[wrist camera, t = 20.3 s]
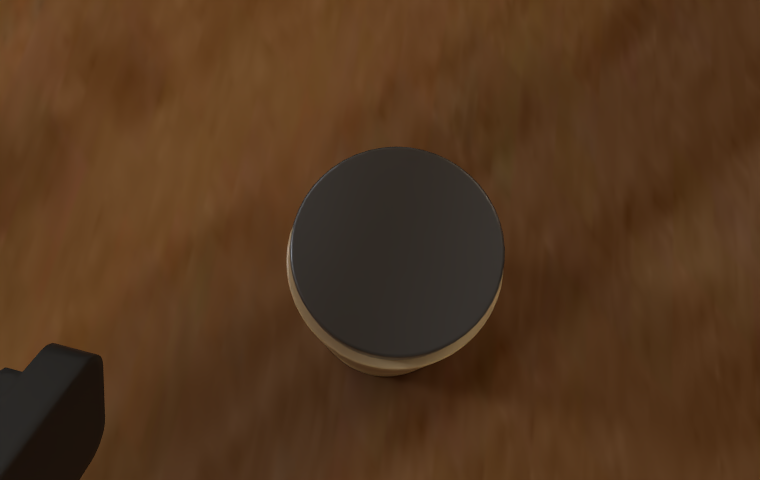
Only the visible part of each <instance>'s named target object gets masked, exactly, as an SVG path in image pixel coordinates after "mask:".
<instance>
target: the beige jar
mask: <svg viewBox="0 0 760 480" xmlns="http://www.w3.org/2000/svg"><path fill="white" fill-rule="evenodd" d="M504 258H505V247H504V238H503V232H502V228H501V224H500V221H499V218H498V216H497V213H496V211H495V208H494V206H493V205H492V203H491V201H490V199H489V197H488V196H487V194H486V193H485V192H484V190H483V189H482V188H481V186H480V185H479V184H478V183H477V182H476V181H475V180H474V179H473V178H472V177H471V176H470V175H469V174H468V173H467V172H465V171H464V170H463V169H462V168H460V167H459V166H457V165H456V164H454V163H453V162H451V161H449V160H448V159H445V158H443V157H441V156H439V155H437V154H434V153H431V152H427V151H424V150H420V149H415V148H409V147H385V148H378V149H373V150H368V151H365V152H362V153H359V154H356V155H354V156H352V157H350V158H348V159H346V160H343V161H342V162H340V163H339V164H337V165H336V166H334V167H333V168H331V169H330V170H329V171H328V172H327V173H325V174H324V175H323V176H322V177H321V178H320V179H319V180H318V181H317V182H316V183H315V184H314V186H313V187H312V188H311V189H310V191H309V192H308V194H307V195H306V197H305V198H304V200H303V202H302V204H301V206H300V208H299V210H298V212H297V215H296V218H295V221H294V224H293V227H292V230H291V233H290V237H289V242H288V246H287V259H286V264H287V277H288V282H289V288H290V291H291V294H292V297H293V300H294V303H295V305H296V307H297V309H298V311H299V313H300V315H301V317H302V318H303V320H304V321H305V323H306V324H307V326H308V327H309V328H310V329H311V331H312V332H313V333H314V334H315V335H316V336H317V337H318V338H319V339H320V340H321V341H322V342H323V343H324V344H325V346H326V347H327V348H328V349H329V350H330V351H331V352H332V353H333V354H334V355H335V356H336V357H338V358H339V359H340V360H341V361H342V362H343V363H345V364H346V365H348V366H350V367H351V368H353V369H355V370H357V371H359V372H362V373H365V374H369V375H374V376H384V377H389V376H398V375H403V374H407V373H409V372H412V371H415V370H417V369H420V368H423V367H425V366H428V365H430V364H433V363H435V362H438V361H440V360H442V359H444V358H446V357H448V356H450V355H452V354H454V353H455V352H456V351H458V350H459V349H461V348H462V347H463V346H465V345H466V344H467V343H468V342H469V341H470V340H471V339H472V338H473V337H474V336H475V335H476V334H477V333H478V332H479V331H480V329H481V328H482V327H483V326H484V324H485V323H486V321H487V319H488V318H489V316H490V315H491V313H492V311H493V308H494V306H495V304H496V302H497V299H498V296H499V292H500V289H501V285H502V278H503V268H504Z"/></svg>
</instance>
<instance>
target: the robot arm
mask: <svg viewBox="0 0 760 480" xmlns="http://www.w3.org/2000/svg"><path fill="white" fill-rule="evenodd" d="M104 425H105V407H104V378H103V361H102V358H101V356H99V355H97V354H93V353H89V352H85V351H81V350H78V349H74V348H70V347H66V346H63V345H59V344H55V343H51V344H49V345H47V346H45V347H44V348H43V349H42V350H41V351H40V352H39V353H38V355H37V356H36V357H35V358H34V359H33V360H32V362H31V363H30V364H29V365H28V366H27V367H26V369H25V370H24V371H23V372H21V371H17V370H13V369H9V368H4V369H2V370H0V480H79V479H80V478H81V476H82V475H83V473H84V472H85V470H86V469H87V467H88V465H89V464H90V462H91V461H92V459H93V457H94V455H95V453H96V451H97V449H98V446H99V444H100V441H101V438H102V435H103V431H104Z"/></svg>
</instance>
